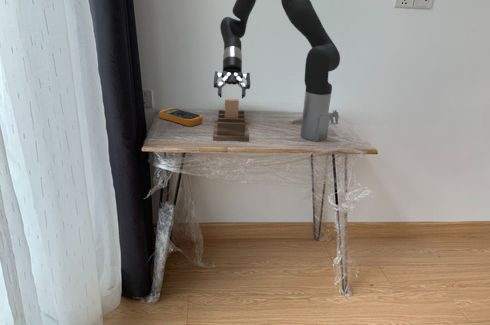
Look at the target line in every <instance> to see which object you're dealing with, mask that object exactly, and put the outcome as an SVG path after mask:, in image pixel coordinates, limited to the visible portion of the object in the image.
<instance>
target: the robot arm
mask: <svg viewBox="0 0 490 325" xmlns="http://www.w3.org/2000/svg"><path fill="white" fill-rule="evenodd" d="M256 2H257V0H236V1H235V3H234V5H233V7H232V15H233V16H235V17H236V18H238V19H235V18H233V17H230V16H226V17H224V18H223V19H222V20H221V21H220V28H219V29H220V34H221V38H222V40H223V44H224V45H223V55H222V72H218V71H214V77H213V88H215V89H217V95H218V97H219V98H222V96H223V95H222V94H223V91H222V90H223V89H222V88H224V87H225V86H227V85H233V86H235V85H237V86H238V87H240V88H241V99H245V97H246V95H247V94H246V93H247V92H246V91H247V90H250V88H251V73H250V72H247V73H243V71H242V70H243V67H242V66H243V56H242V55H243V54H242V40H241V39H243V37H244V36H245V34H246V30H247V24H248V21H249V16H250V15H251V13H252V11H253V8H254V7H255V4H256ZM280 3H281V6H282V9H283V10H284V12H285V15H286V17H287V19H288V20H289V22H290V24H292V26H293V27H294V28H295V29H297V31H298V32H300V34H302V36H304V37H305V39H307V41H308V43H309V45H310V46H311V48H310V49H309V51H308V52H307V55H306V58H305V65H304V66H305V67H304V84H305V93H304V100H303V101H304V102H303V110H302V117H301V119H302V123H301V127H300V133H299V134H300V137H301V138H302V139H305V140H308V141H315V142H320V141H322V140H325V139H328V132H329V129H330V128H329V127H330V122H331V121H330V114H329V113H330V112H329V110H330V105H331V104H330V103H331V97H332V90H333V85H332V84H331V83H330V82H329V73H330V72H332V71H335V70H336V69H338V67H339V65H340V63H341V55H340V52H339V49H338V48H337V46H336V45H335V43H334V41H333V40H332V38H331V37H330V36H329V34H328V33H327V30H325V27H324V26H323V24H322V22H321V19H320V18H319V16H318V13H317V12H316V10H315V8H314V6H313V4H312V2H311V0H281V2H280ZM220 78H222V79H221V81H219V82H218V80H219V79H220ZM243 78H244V80H245V81H246V83H244V81H243Z"/></svg>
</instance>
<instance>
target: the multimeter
mask: <svg viewBox="0 0 490 325" xmlns="http://www.w3.org/2000/svg"><path fill="white" fill-rule="evenodd" d="M159 117H160V119H163V120H166V121H170V122H173V123H176V124H179V125H183V126H186V127H195V126H198V125H200V124H202V123H203V115H201V114H197V113H194V112H190V111H188V110H187V111H186V110H184V109H179V108H176V107H168V108H165V109H162V110H160V111H159Z"/></svg>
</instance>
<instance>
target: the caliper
mask: <svg viewBox="0 0 490 325" xmlns="http://www.w3.org/2000/svg"><path fill="white" fill-rule="evenodd" d="M328 113H329V114H330V121H329V122H331V124H333V125H334V120H335V125H336V124H338V123H339V118H340V116H339V112H338V111H337V109H333V110H332V112H328ZM290 124H297V125H298V124H302V118H297V119H293V120H292V121H290Z"/></svg>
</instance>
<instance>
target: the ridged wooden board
mask: <svg viewBox="0 0 490 325" xmlns="http://www.w3.org/2000/svg"><path fill="white" fill-rule="evenodd" d="M212 140H213V141H225V142H226V141H229V142H230V141H231V142H250V132H249V125H248V120H246V118H245V110H238V119H237V118H225V109H218V116H217V119H214V126H213V134H212Z"/></svg>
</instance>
